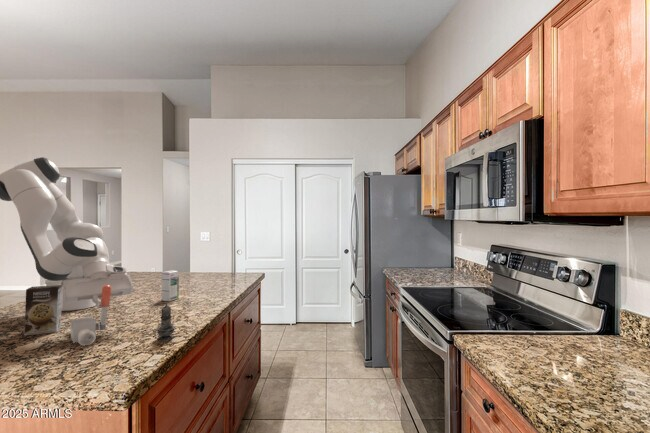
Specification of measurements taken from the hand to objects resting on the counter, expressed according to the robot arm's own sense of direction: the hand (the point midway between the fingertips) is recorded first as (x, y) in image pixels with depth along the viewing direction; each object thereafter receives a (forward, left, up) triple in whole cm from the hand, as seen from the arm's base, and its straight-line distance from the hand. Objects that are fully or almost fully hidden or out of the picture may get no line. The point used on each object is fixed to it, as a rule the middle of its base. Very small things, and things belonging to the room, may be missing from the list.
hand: (102, 306), depth 113 cm
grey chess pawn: (+22, +9, -10) cm, 25 cm away
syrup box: (-23, +46, -10) cm, 52 cm away
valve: (-3, -4, -10) cm, 12 cm away
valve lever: (-2, +1, -8) cm, 9 cm away
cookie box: (-23, -7, -10) cm, 26 cm away
